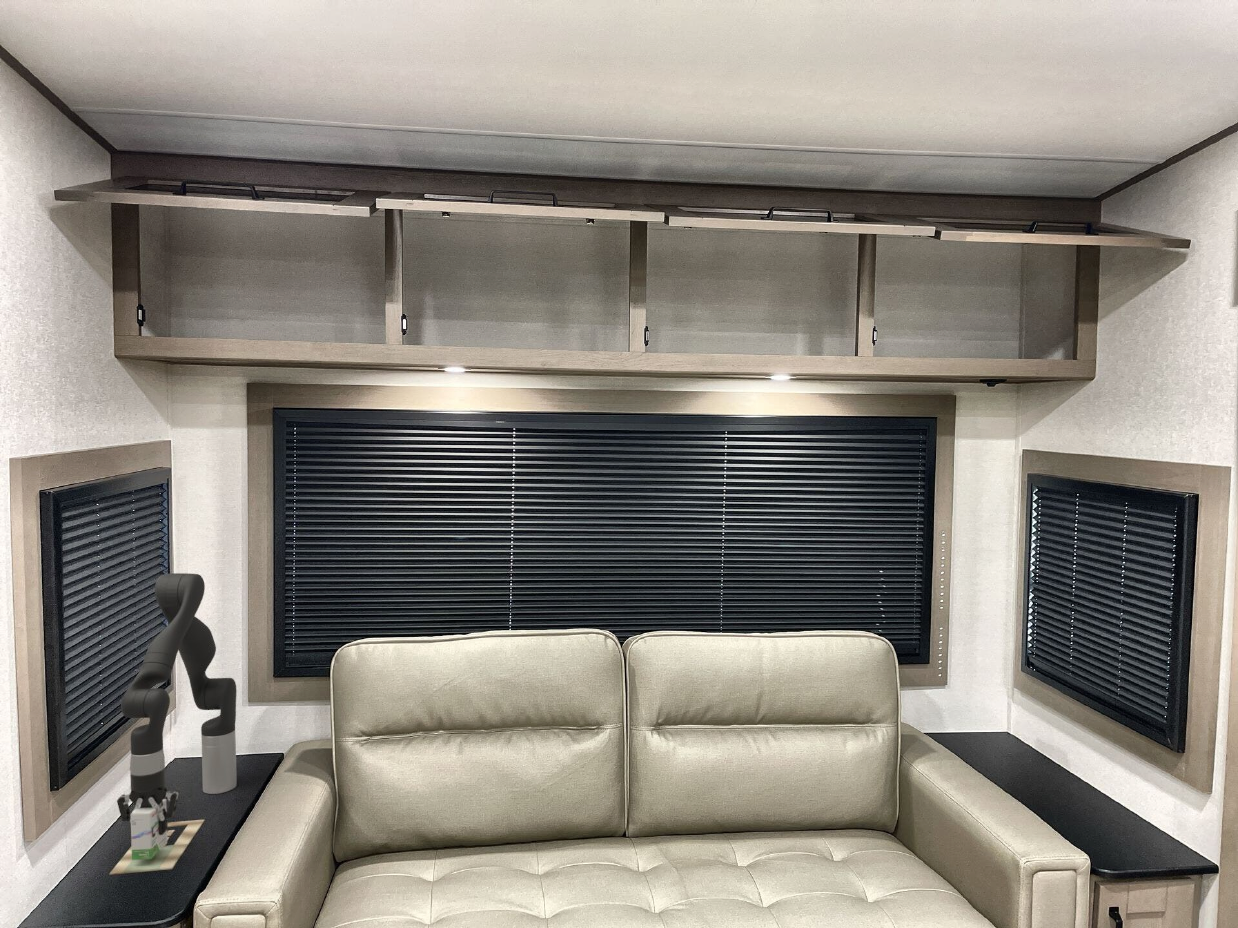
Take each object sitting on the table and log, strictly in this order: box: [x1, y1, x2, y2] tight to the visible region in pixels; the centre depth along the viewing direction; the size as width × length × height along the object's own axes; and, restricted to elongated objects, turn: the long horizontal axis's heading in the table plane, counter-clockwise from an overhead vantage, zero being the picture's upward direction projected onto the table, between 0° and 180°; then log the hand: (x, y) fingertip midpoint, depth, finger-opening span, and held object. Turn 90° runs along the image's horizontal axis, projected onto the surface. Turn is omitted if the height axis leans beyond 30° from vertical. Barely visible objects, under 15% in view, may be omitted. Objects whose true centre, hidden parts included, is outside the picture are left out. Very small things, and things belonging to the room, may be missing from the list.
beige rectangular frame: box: [109, 819, 205, 875], centre depth 216 cm, size 26×14×1 cm, turn 10°
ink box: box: [130, 798, 168, 860], centre depth 209 cm, size 8×5×12 cm, turn 3°
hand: (149, 834), depth 209 cm, fingers closed on ink box, 5 cm apart
